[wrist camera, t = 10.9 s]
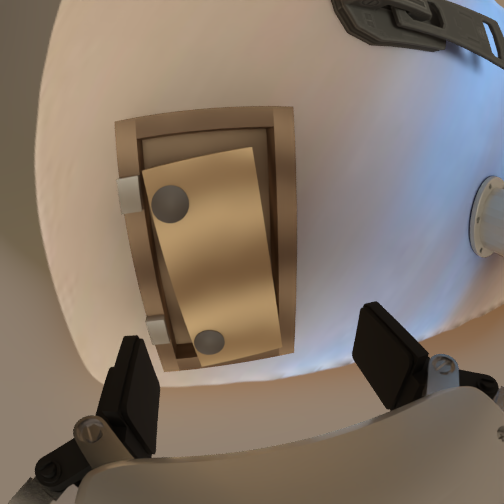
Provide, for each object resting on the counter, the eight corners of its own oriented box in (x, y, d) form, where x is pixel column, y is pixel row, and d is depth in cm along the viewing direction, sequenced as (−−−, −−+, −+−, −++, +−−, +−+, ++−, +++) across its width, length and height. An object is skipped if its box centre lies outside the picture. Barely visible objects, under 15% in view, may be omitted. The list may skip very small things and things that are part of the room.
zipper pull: (514, 77, 16) (382, 19, 13) (480, 77, 22) (341, 41, 19) (498, 19, 13) (352, -57, 10) (466, 24, 19) (321, -27, 16)
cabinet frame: (124, 125, 18) (111, 120, 15) (280, 111, 21) (297, 105, 17) (165, 351, 26) (164, 377, 23) (284, 334, 28) (296, 357, 25)
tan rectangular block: (151, 167, 19) (141, 171, 16) (241, 147, 20) (252, 146, 16) (199, 338, 25) (201, 368, 22) (270, 321, 26) (283, 348, 23)
